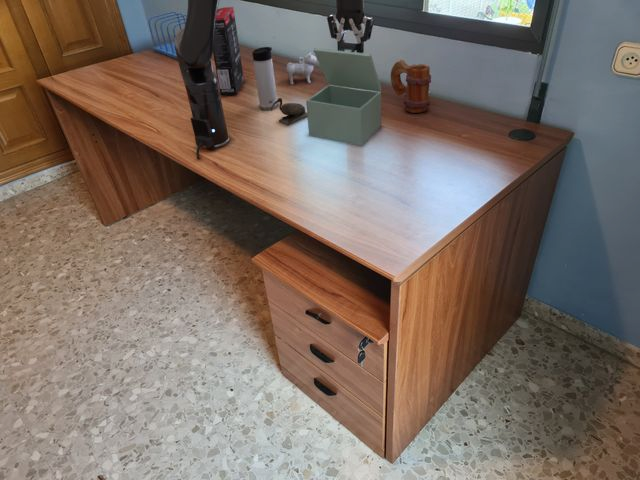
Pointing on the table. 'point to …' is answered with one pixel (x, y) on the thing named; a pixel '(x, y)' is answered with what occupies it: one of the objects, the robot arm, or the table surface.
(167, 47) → the file sorter
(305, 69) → the dog figurine
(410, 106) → the mug
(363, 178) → the table surface
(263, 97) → the travel mug
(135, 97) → the table surface
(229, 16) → the graphics card box
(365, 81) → the lid
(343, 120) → the chest
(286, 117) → the figurine
